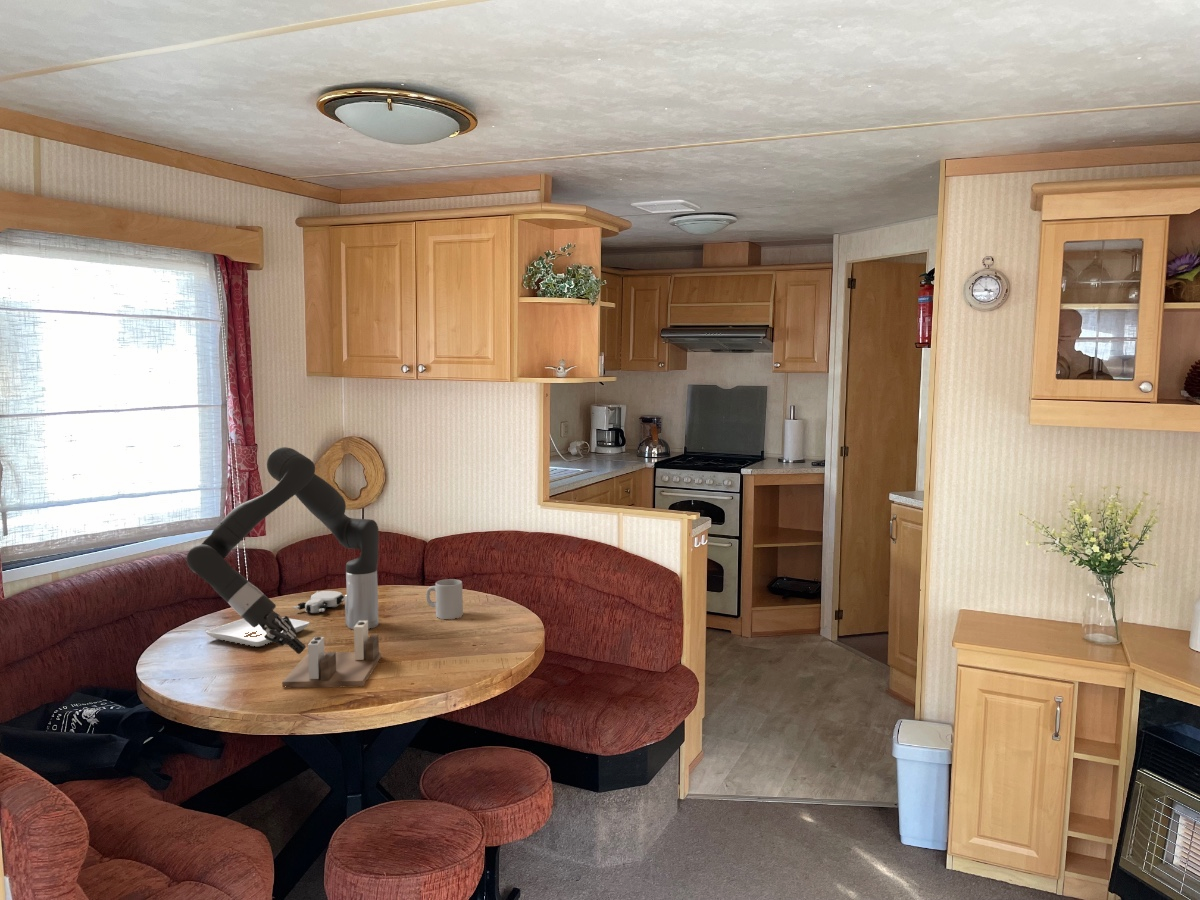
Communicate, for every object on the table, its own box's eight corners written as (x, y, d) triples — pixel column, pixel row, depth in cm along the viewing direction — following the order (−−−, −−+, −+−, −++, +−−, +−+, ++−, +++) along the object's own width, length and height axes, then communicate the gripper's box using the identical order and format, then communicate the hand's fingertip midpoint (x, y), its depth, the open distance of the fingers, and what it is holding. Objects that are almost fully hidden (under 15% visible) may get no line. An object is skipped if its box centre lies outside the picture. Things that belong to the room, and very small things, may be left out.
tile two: (309, 679, 225) (307, 643, 224) (315, 670, 231) (314, 635, 230) (318, 679, 225) (317, 643, 224) (325, 670, 231) (323, 635, 230)
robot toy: (324, 619, 285) (350, 603, 299) (323, 606, 284) (349, 591, 298) (291, 616, 289) (319, 600, 303) (290, 603, 288) (318, 588, 302)
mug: (467, 613, 289) (466, 579, 288) (456, 620, 281) (456, 586, 279) (432, 610, 292) (431, 577, 290) (421, 618, 283) (420, 584, 282)
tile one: (354, 660, 239) (353, 626, 238) (360, 652, 245) (359, 619, 244) (363, 659, 240) (362, 626, 239) (368, 652, 245) (367, 619, 244)
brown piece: (282, 687, 224) (281, 662, 224) (308, 657, 246) (307, 634, 245) (362, 686, 225) (361, 661, 224) (381, 657, 247) (380, 634, 246)
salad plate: (312, 631, 271) (311, 620, 270) (258, 652, 252) (258, 641, 251) (259, 623, 280) (259, 612, 279) (203, 642, 260) (203, 631, 260)
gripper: (252, 601, 219) (305, 649, 221) (270, 587, 232) (320, 632, 234) (231, 622, 219) (284, 670, 221) (250, 607, 232) (300, 652, 234)
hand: (302, 650), depth 227 cm, fingers closed
